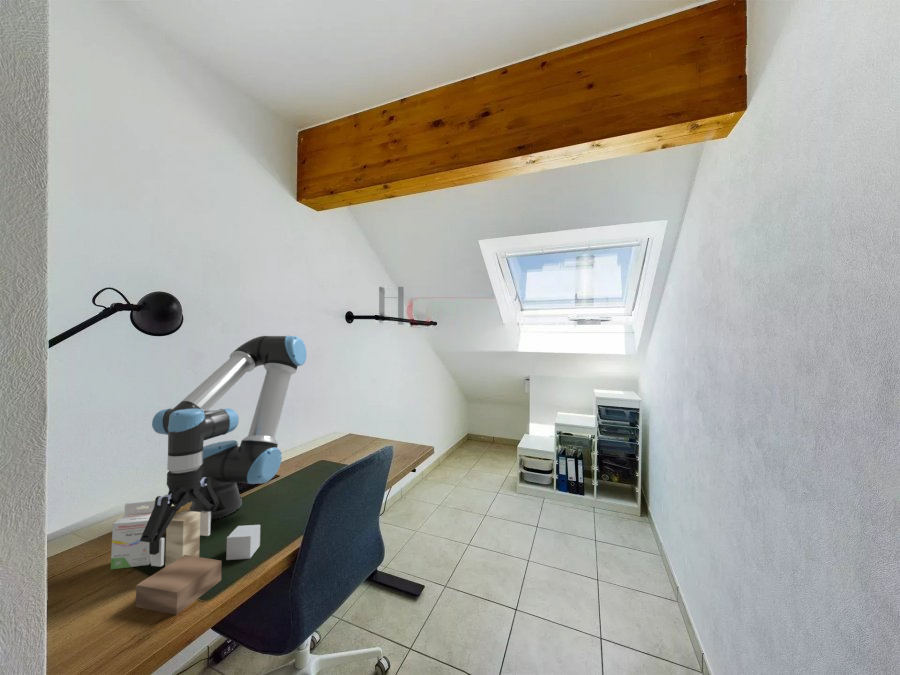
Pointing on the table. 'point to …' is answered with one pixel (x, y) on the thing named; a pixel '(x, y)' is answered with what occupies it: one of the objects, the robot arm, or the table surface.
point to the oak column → (183, 536)
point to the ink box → (131, 537)
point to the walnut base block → (178, 584)
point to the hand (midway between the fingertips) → (182, 549)
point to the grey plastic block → (243, 542)
